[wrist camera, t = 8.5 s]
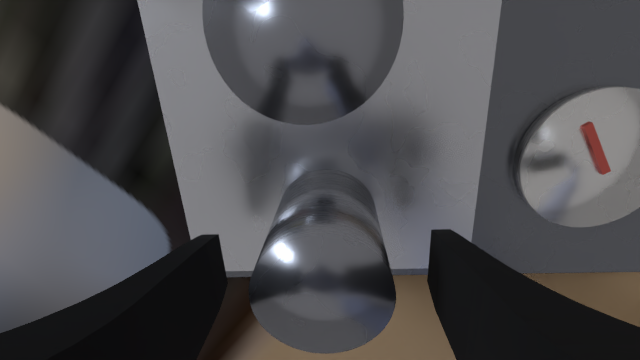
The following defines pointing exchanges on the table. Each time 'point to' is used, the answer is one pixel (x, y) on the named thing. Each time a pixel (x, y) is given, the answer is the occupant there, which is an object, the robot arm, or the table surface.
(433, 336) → the table surface
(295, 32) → the cylinder
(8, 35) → the table surface
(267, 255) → the cylinder
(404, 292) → the table surface
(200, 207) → the pan
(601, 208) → the scale base
